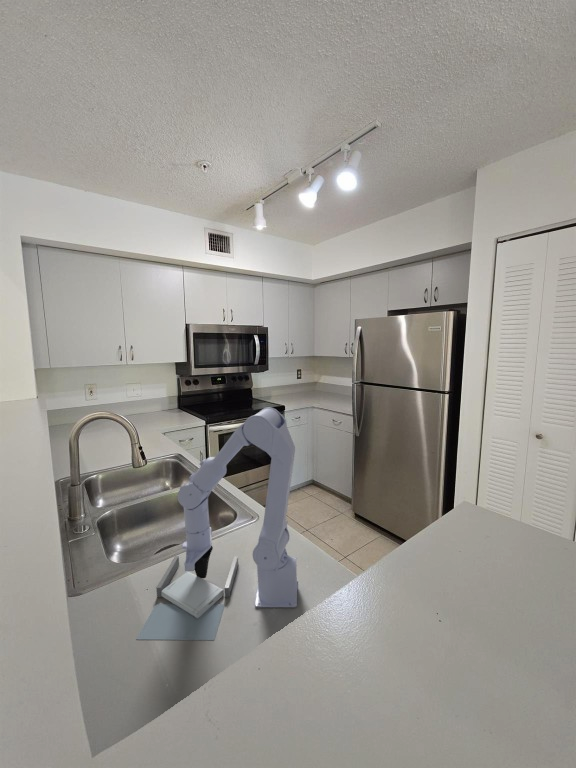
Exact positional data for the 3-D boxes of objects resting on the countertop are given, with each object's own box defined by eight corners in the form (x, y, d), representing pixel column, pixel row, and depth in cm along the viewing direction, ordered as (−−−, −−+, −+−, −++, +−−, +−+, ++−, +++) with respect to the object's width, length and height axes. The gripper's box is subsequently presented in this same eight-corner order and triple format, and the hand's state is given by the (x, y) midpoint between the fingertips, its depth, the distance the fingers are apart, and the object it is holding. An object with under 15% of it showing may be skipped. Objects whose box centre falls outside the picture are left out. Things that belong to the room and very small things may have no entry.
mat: (224, 605, 74) (224, 604, 74) (214, 641, 65) (214, 640, 65) (155, 605, 74) (155, 604, 74) (136, 640, 66) (136, 639, 66)
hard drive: (160, 590, 76) (196, 612, 70) (188, 570, 83) (223, 588, 77) (161, 597, 77) (197, 619, 70) (188, 576, 83) (224, 594, 77)
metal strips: (238, 564, 87) (238, 556, 87) (229, 597, 76) (228, 587, 76) (175, 564, 88) (175, 556, 88) (157, 597, 76) (156, 587, 76)
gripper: (191, 511, 87) (195, 558, 89) (169, 545, 73) (174, 600, 74) (217, 511, 86) (221, 558, 88) (200, 545, 72) (204, 600, 74)
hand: (201, 577), depth 81 cm, fingers closed, pressing on hard drive
